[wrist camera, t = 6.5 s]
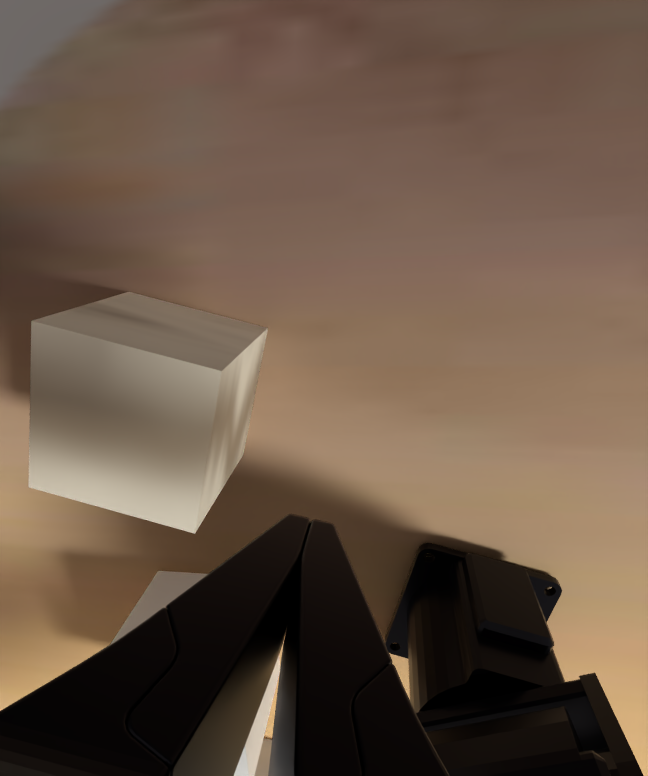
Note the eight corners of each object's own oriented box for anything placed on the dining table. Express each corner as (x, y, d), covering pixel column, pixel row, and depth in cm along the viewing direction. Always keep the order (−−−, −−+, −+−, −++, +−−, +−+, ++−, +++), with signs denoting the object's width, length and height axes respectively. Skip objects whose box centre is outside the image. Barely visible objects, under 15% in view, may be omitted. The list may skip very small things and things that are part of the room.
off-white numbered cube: (280, 668, 26) (248, 798, 21) (174, 658, 27) (114, 781, 21) (273, 577, 24) (235, 692, 19) (158, 569, 25) (88, 677, 19)
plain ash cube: (243, 453, 22) (194, 533, 17) (118, 419, 23) (28, 487, 17) (268, 327, 20) (221, 371, 15) (129, 291, 21) (31, 321, 15)
